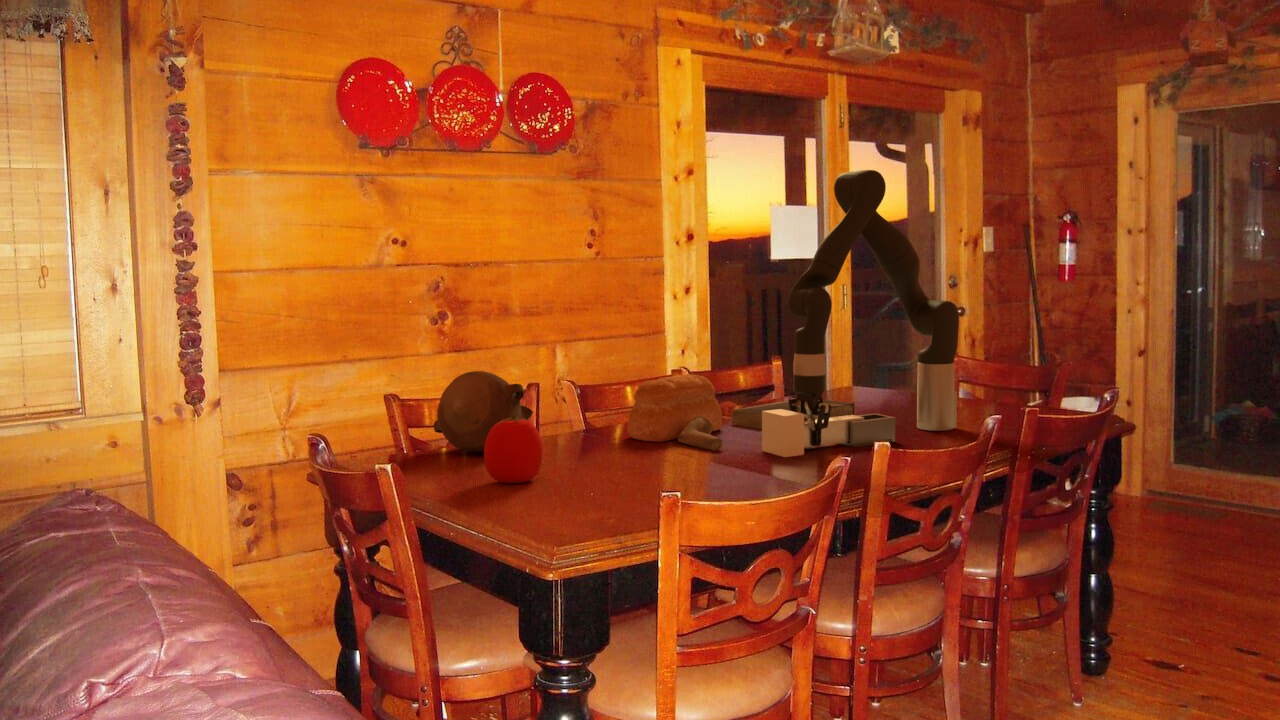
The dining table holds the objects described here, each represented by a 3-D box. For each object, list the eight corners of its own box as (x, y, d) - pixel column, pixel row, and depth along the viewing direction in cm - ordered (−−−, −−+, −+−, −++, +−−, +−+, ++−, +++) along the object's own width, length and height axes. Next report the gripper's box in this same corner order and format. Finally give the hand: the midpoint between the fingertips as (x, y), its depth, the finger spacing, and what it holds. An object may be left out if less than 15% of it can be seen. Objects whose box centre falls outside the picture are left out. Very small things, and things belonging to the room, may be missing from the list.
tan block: (781, 448, 255) (781, 409, 254) (804, 454, 247) (803, 413, 246) (762, 450, 252) (761, 411, 251) (784, 457, 244) (784, 416, 243)
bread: (621, 438, 272) (620, 379, 271) (691, 425, 290) (690, 369, 289) (659, 445, 263) (658, 383, 261) (728, 430, 281) (728, 373, 279)
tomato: (493, 490, 216) (490, 421, 215) (478, 479, 227) (476, 413, 225) (552, 483, 221) (550, 416, 220) (535, 473, 232) (533, 408, 230)
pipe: (709, 433, 251) (740, 421, 256) (665, 424, 264) (696, 413, 270) (713, 459, 252) (744, 447, 258) (669, 448, 265) (699, 437, 271)
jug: (479, 463, 244) (546, 461, 271) (499, 380, 243) (564, 386, 270) (410, 439, 252) (481, 439, 279) (429, 359, 252) (499, 367, 279)
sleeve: (875, 437, 267) (875, 413, 266) (895, 441, 260) (895, 417, 260) (833, 442, 261) (834, 418, 260) (852, 447, 254) (853, 422, 254)
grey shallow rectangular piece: (802, 413, 308) (801, 396, 308) (854, 421, 294) (854, 403, 294) (731, 426, 290) (731, 408, 289) (784, 434, 276) (783, 415, 275)
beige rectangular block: (851, 437, 262) (851, 414, 261) (864, 440, 257) (864, 416, 257) (784, 446, 252) (784, 421, 252) (796, 449, 248) (796, 424, 248)
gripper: (841, 374, 246) (841, 447, 248) (804, 368, 259) (804, 438, 261) (815, 376, 243) (815, 450, 245) (778, 370, 255) (778, 441, 257)
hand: (809, 443), depth 253 cm, fingers closed on beige rectangular block, 4 cm apart
